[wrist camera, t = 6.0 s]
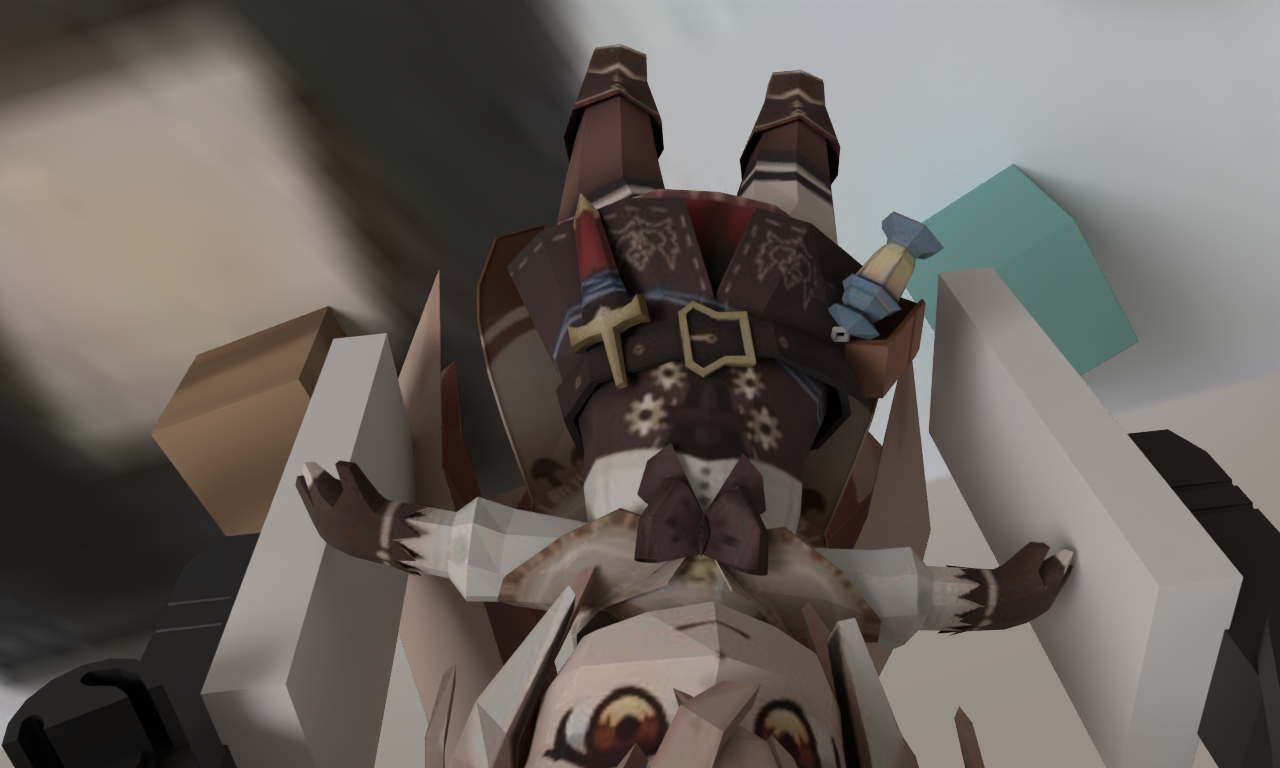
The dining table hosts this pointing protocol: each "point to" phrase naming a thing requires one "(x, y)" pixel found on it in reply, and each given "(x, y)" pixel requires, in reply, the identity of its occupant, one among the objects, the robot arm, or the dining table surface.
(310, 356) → the walnut cube
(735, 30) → the dining table surface
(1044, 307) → the teal cube
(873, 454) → the toy
